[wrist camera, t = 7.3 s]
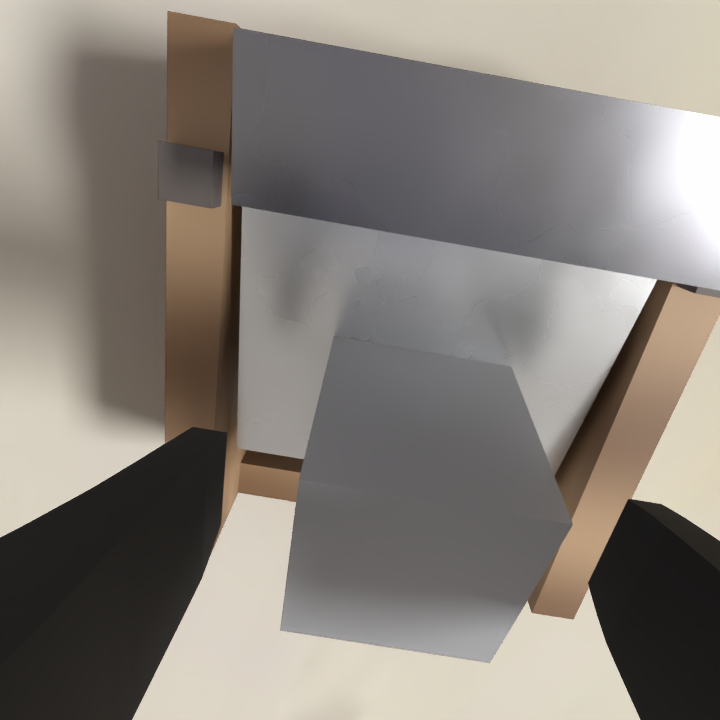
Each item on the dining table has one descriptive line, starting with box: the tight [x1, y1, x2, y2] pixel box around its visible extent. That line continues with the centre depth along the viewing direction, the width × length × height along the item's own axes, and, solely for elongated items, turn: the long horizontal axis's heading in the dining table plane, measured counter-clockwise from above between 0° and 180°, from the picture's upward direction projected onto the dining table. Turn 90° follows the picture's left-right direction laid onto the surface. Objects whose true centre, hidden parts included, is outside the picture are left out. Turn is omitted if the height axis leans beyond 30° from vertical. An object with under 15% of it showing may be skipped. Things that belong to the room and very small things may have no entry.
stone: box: [280, 336, 573, 663], centre depth 10 cm, size 4×4×4 cm
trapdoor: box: [231, 27, 720, 476], centre depth 10 cm, size 10×9×3 cm
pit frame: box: [158, 11, 720, 619], centre depth 13 cm, size 13×12×6 cm
